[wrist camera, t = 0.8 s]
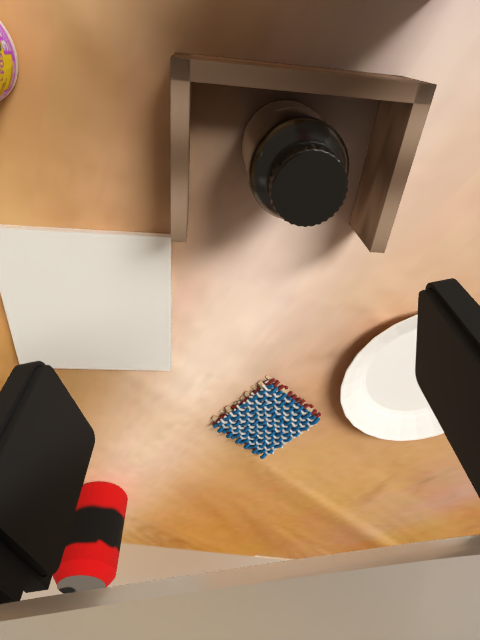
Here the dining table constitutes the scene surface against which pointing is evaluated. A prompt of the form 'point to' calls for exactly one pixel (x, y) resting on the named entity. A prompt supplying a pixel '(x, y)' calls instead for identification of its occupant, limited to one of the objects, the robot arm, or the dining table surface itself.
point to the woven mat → (266, 417)
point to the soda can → (93, 539)
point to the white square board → (87, 297)
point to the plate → (388, 388)
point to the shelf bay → (393, 92)
